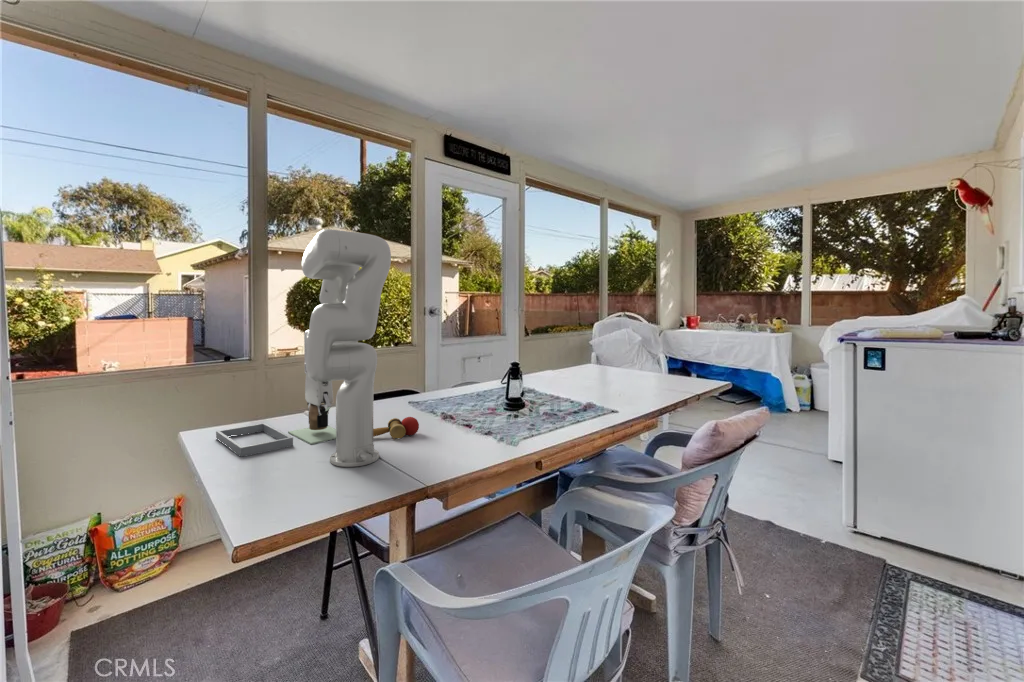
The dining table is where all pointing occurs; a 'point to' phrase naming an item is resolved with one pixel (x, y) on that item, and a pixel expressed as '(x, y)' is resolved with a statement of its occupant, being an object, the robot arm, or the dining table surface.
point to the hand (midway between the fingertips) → (318, 424)
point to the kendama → (399, 428)
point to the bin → (282, 442)
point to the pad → (314, 435)
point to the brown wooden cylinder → (314, 417)
